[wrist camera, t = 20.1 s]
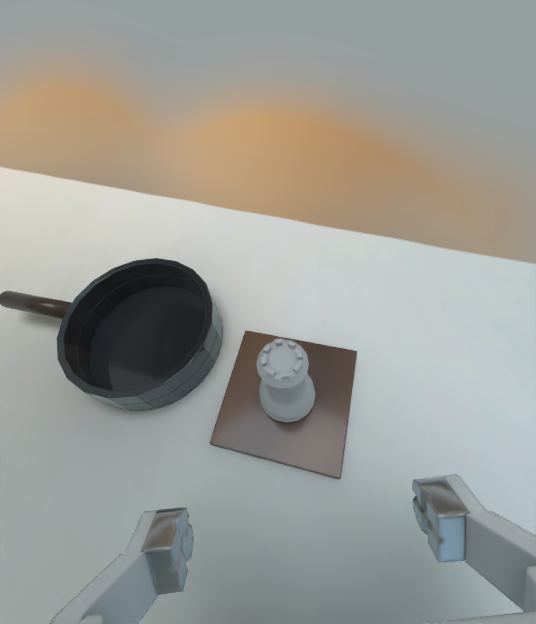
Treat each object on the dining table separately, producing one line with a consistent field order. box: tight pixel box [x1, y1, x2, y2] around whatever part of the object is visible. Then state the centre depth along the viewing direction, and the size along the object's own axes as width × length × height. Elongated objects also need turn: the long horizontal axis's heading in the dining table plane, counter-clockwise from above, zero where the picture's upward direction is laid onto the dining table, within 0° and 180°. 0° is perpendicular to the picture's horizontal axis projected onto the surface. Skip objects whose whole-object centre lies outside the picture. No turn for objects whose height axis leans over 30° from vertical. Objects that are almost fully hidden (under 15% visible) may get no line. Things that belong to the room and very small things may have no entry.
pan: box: [57, 258, 222, 411], centre depth 29 cm, size 13×13×4 cm
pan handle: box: [0, 291, 72, 319], centre depth 31 cm, size 9×2×2 cm, turn 76°
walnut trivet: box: [210, 331, 357, 479], centre depth 27 cm, size 10×10×1 cm
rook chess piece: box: [257, 338, 315, 423], centre depth 23 cm, size 4×4×8 cm
